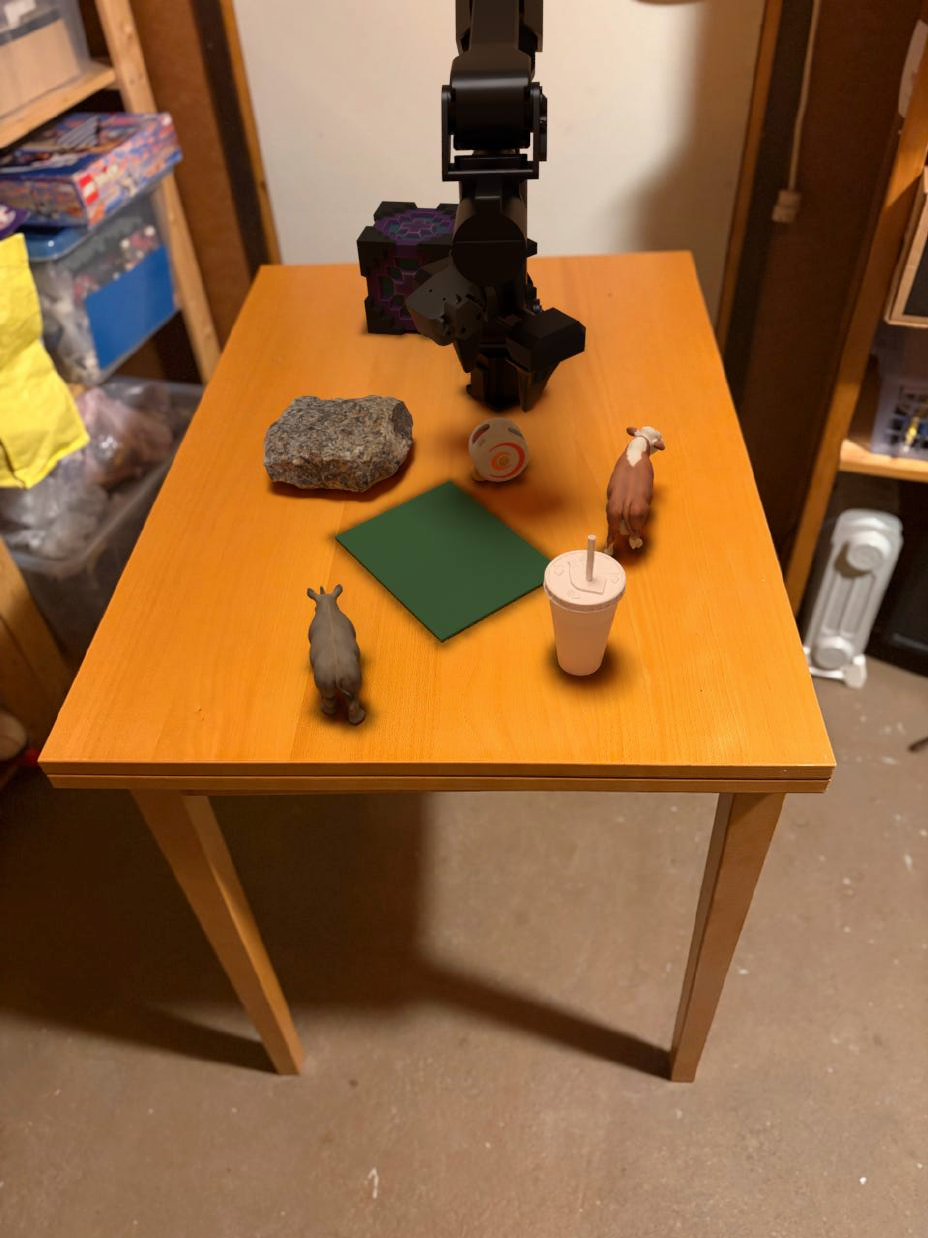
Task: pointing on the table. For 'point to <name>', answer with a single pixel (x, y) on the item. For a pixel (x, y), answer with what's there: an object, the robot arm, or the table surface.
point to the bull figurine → (632, 487)
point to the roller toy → (498, 450)
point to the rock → (338, 442)
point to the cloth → (446, 559)
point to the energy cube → (400, 258)
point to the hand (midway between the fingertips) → (497, 390)
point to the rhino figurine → (334, 654)
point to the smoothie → (583, 605)
